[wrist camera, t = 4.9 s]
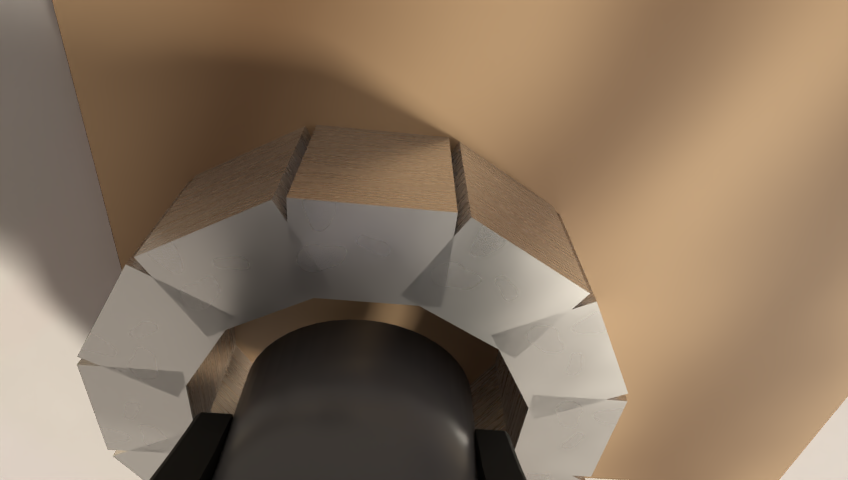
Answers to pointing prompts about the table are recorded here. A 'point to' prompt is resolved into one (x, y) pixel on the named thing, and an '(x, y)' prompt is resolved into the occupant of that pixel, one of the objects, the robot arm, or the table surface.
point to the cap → (352, 409)
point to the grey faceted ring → (356, 290)
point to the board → (545, 174)
